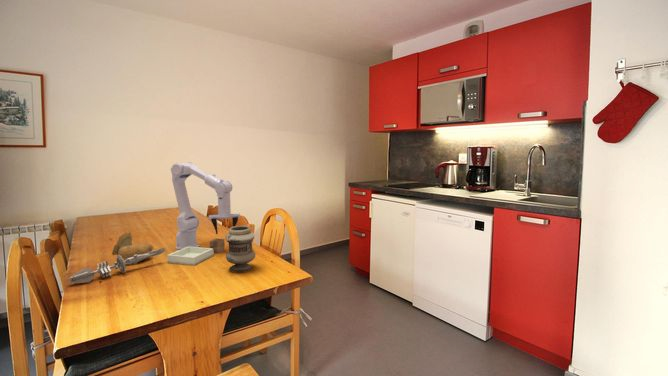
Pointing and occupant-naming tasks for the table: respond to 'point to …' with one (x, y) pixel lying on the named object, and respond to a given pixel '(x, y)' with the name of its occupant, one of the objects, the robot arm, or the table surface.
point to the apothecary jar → (240, 248)
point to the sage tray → (190, 255)
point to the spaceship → (88, 273)
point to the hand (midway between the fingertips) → (225, 233)
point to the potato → (134, 250)
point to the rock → (122, 242)
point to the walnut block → (217, 245)
